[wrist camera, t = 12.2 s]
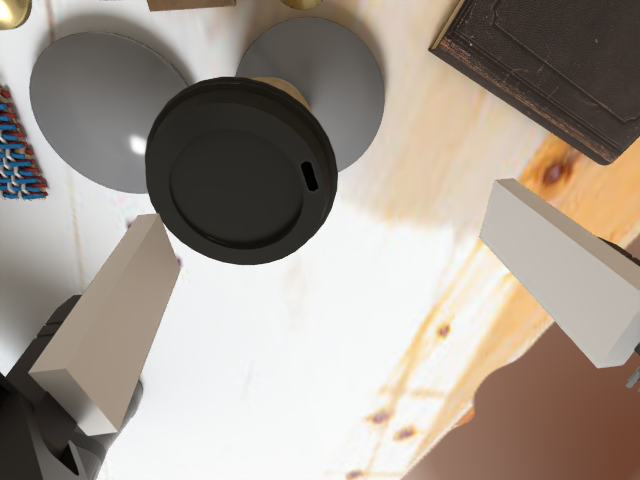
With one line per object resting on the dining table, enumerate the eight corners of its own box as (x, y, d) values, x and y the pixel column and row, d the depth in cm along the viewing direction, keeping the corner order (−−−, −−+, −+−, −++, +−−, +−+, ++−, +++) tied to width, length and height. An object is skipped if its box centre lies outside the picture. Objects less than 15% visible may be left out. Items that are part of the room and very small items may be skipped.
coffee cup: (193, 72, 26) (81, 122, 14) (311, 33, 25) (305, 50, 12) (242, 182, 32) (193, 290, 19) (341, 155, 30) (359, 253, 18)
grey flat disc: (84, 193, 32) (78, 199, 31) (3, 38, 25) (-9, 39, 24) (218, 181, 33) (216, 187, 32) (178, 25, 25) (174, 26, 24)
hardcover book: (580, -214, 21) (610, -236, 19) (749, -4, 28) (783, -4, 26) (424, 50, 28) (434, 52, 26) (590, 159, 36) (607, 168, 34)
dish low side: (248, 179, 33) (247, 184, 32) (218, 23, 25) (215, 23, 24) (377, 167, 33) (380, 172, 32) (385, 11, 26) (389, 11, 25)
